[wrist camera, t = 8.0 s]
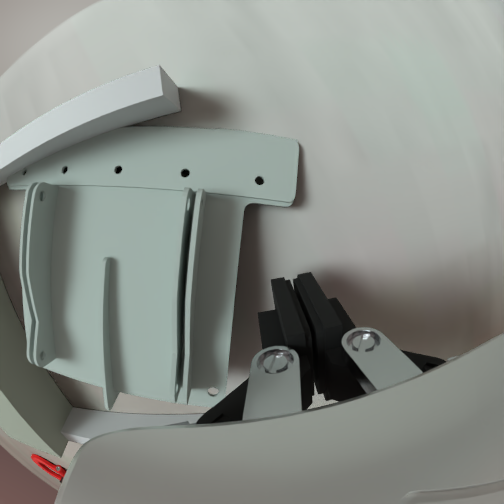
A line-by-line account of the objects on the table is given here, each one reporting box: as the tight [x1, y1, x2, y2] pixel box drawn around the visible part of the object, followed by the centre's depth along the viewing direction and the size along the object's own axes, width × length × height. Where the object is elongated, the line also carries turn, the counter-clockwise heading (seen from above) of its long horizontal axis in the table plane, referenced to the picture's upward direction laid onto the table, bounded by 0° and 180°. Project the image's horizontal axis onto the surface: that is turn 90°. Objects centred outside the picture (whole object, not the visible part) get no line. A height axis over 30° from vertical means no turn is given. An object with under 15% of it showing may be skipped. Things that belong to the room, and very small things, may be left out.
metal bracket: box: [7, 126, 299, 410], centre depth 11 cm, size 14×6×15 cm
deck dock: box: [0, 65, 203, 458], centre depth 11 cm, size 23×20×5 cm
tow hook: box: [31, 454, 66, 483], centre depth 17 cm, size 8×13×9 cm
